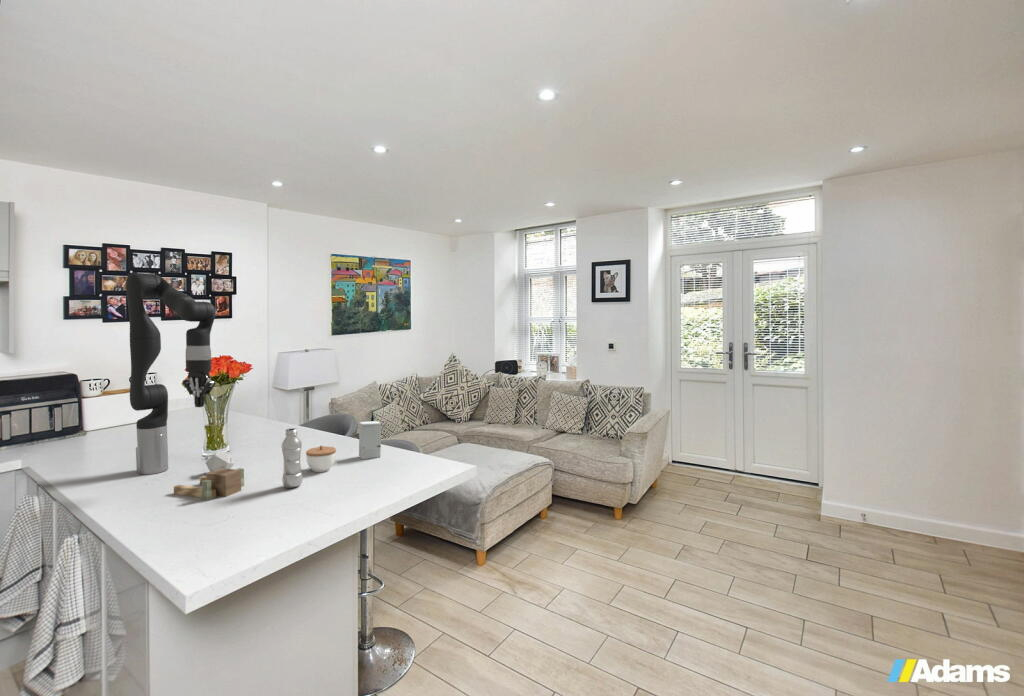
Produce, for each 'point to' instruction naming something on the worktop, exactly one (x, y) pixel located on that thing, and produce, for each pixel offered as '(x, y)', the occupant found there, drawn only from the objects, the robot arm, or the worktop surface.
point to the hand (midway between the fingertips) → (199, 406)
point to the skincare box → (369, 439)
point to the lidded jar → (321, 458)
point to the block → (225, 481)
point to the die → (220, 461)
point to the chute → (205, 490)
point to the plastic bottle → (292, 459)
